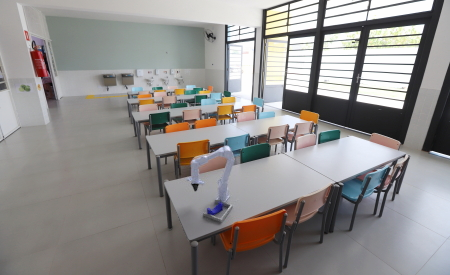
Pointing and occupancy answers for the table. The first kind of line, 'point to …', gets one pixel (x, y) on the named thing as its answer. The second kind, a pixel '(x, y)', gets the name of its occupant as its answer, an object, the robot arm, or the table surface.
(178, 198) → the table surface
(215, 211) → the cable clip
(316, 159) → the table surface
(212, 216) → the bracket
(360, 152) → the table surface
